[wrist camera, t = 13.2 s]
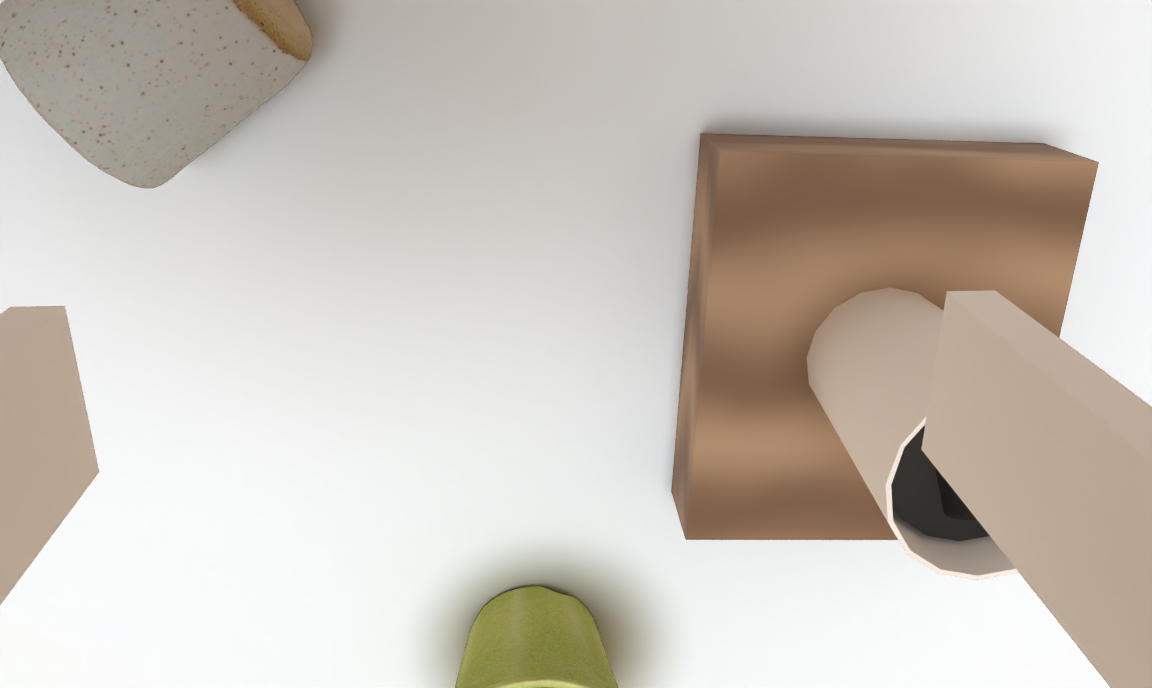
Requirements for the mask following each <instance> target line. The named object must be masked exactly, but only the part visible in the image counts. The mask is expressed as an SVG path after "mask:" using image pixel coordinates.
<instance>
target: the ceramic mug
mask: <svg viewBox="0 0 1152 688" xmlns="http://www.w3.org/2000/svg"><path fill="white" fill-rule="evenodd" d="M311 51H312V34H311V32H310V29H309V26H308V25H307V23H306V21H305V19H304V17H303V15H302V13H301V12H300V10H299V8H298V7H297V5H296V4H295V2H294V0H5V1H4V2H3V3H1V4H0V58H1V59H2V61H3V63H4V65H5V67H6V69H7V71H8V73H9V74H10V76H11V77H12V79H13V81H14V82H15V84H16V85H17V87H18V88H19V90H20V91H21V92H22V93H23V94H24V96H25V97H26V98H27V100H28V101H29V102H30V103H31V105H32V106H33V107H34V109H35V110H36V111H37V112H38V113H39V114H40V116H41V117H42V118H43V119H44V120H45V121H46V122H47V123H48V124H49V125H50V126H51V127H52V128H53V129H54V130H55V131H56V132H57V133H58V134H60V135H61V136H62V137H63V138H64V139H65V140H66V141H67V143H68V144H69V145H70V146H71V147H73V148H74V149H75V150H76V151H77V152H78V153H80V154H81V155H82V156H83V157H84V158H85V159H87V160H88V161H89V162H90V163H92V164H93V165H95V166H96V167H98V168H99V169H101V170H102V171H104V172H105V173H107V174H109V175H111V176H113V177H115V178H117V179H119V180H121V181H123V182H125V183H127V184H129V185H132V186H136V187H140V188H155V187H158V186H160V185H162V184H164V183H166V182H167V181H168V180H170V179H171V178H172V177H174V176H175V175H176V174H177V173H178V172H179V171H181V170H182V169H183V168H184V167H185V166H187V165H188V164H189V163H190V162H192V161H193V160H194V159H195V158H197V157H198V156H199V155H201V154H202V153H203V152H204V151H206V150H207V149H208V148H209V147H211V146H212V145H213V144H214V143H216V142H217V141H218V140H219V139H221V138H222V137H223V136H224V135H226V134H227V133H228V132H229V131H230V130H232V129H233V128H234V127H235V126H236V125H237V124H239V123H240V122H241V121H242V120H244V119H245V118H246V117H247V116H249V115H250V114H251V113H253V112H254V111H255V110H256V109H258V108H259V107H260V106H261V105H263V104H264V103H265V102H266V101H268V100H269V99H270V98H272V97H273V96H274V95H275V94H277V93H278V92H279V91H280V90H282V89H283V88H284V87H285V86H287V85H288V83H289V82H290V81H291V80H292V79H293V78H294V77H295V76H296V74H297V73H298V72H299V71H300V70H301V69H302V68H303V67H304V66H305V64H306V63H307V61H308V60H309V58H310V56H311Z"/></svg>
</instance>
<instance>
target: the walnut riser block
mask: <svg viewBox="0 0 1152 688" xmlns="http://www.w3.org/2000/svg"><path fill="white" fill-rule="evenodd" d="M1098 163H1099V162H1097V161H1094V160H1091V159H1088V158H1085V157H1082V156H1079V155H1076V154H1073V153H1070V152H1067V151H1064V150H1062V149H1059V148H1056V147H1053V146H1050V145H1047V144H1040V143H1006V142H972V141H938V140H904V139H869V138H835V137H801V136H767V135H732V134H701V137H700V149H699V162H698V174H697V186H696V198H695V210H694V223H693V235H692V247H691V259H690V271H689V284H688V296H687V308H686V320H685V333H684V345H683V357H682V369H681V381H680V394H679V406H678V418H677V430H676V442H675V455H674V467H673V479H672V491H671V492H672V495H673V498H674V502H675V505H676V508H677V512H678V515H679V519H680V522H681V525H682V529H683V532H684V535H685V539H686V540H898V539H897V537H896V535H895V534H894V532H893V530H892V529H891V527H890V525H889V523H888V522H887V520H886V518H885V516H884V515H883V513H882V511H881V509H880V508H879V506H878V504H877V502H876V501H875V499H874V497H873V495H872V494H871V492H870V490H869V488H868V487H867V485H866V483H865V481H864V480H863V478H862V476H861V474H860V473H859V471H858V469H857V467H856V466H855V464H854V462H853V460H852V459H851V457H850V455H849V453H848V452H847V450H846V448H845V446H844V444H843V443H842V441H841V439H840V437H839V436H838V434H837V432H836V430H835V429H834V427H833V425H832V423H831V422H830V420H829V418H828V416H827V415H826V413H825V411H824V409H823V408H822V406H821V404H820V402H819V401H818V399H817V397H816V395H815V394H814V392H813V390H812V389H811V387H810V385H809V379H808V368H807V355H808V352H809V349H810V346H811V343H812V340H813V337H814V334H815V331H816V330H817V329H818V327H819V326H820V325H821V324H822V323H823V321H824V320H825V319H826V318H827V317H828V315H829V314H830V313H831V312H832V311H833V309H834V308H836V307H837V306H839V305H841V304H842V303H844V302H846V301H847V300H849V299H851V298H853V297H854V296H856V295H858V294H859V293H862V292H867V291H873V290H878V289H884V288H890V287H891V288H896V289H900V290H905V291H910V292H915V293H918V294H920V295H921V296H922V297H924V298H925V299H927V300H928V301H930V302H931V303H933V304H934V305H936V306H937V307H939V308H940V309H942V310H943V311H944V305H945V299H946V293H947V291H990V290H995V291H997V292H998V293H999V294H1001V295H1002V296H1003V297H1005V298H1006V299H1007V300H1009V301H1010V302H1012V303H1013V304H1014V305H1016V306H1017V307H1018V308H1020V309H1021V310H1022V311H1024V312H1025V313H1026V314H1028V315H1029V316H1030V317H1032V318H1033V319H1034V320H1036V321H1037V322H1038V323H1040V324H1041V325H1042V326H1044V327H1045V328H1046V329H1048V330H1049V331H1050V332H1052V333H1053V334H1055V335H1056V336H1057V337H1059V336H1060V332H1061V327H1062V323H1063V318H1064V314H1065V309H1066V305H1067V301H1068V296H1069V292H1070V287H1071V283H1072V278H1073V274H1074V270H1075V265H1076V261H1077V256H1078V252H1079V247H1080V243H1081V239H1082V234H1083V230H1084V225H1085V221H1086V216H1087V212H1088V208H1089V203H1090V199H1091V194H1092V190H1093V185H1094V181H1095V177H1096V172H1097V168H1098Z"/></svg>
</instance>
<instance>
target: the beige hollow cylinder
mask: <svg viewBox="0 0 1152 688" xmlns="http://www.w3.org/2000/svg"><path fill="white" fill-rule="evenodd" d="M943 312H944V311H943V310H942V309H940V308H939V307H937V306H936V305H934V304H933V303H931V302H930V301H928V300H927V299H925V298H924V297H922V296H921V295H920V294H918V293H915V292H910V291H905V290H900V289H896V288H891V287H890V288H884V289H878V290H873V291H867V292H862V293H859V294H858V295H856V296H854V297H853V298H851V299H849V300H847V301H846V302H844V303H842V304H841V305H839V306H837V307H836V308H834V309H833V311H832V312H831V313H830V314H829V315H828V317H827V318H826V319H825V320H824V321H823V323H822V324H821V325H820V326H819V327H818V329H817V330H816V331H815V334H814V337H813V340H812V343H811V346H810V349H809V352H808V355H807V368H808V379H809V385H810V387H811V389H812V390H813V392H814V394H815V395H816V397H817V399H818V401H819V402H820V404H821V406H822V408H823V409H824V411H825V413H826V415H827V416H828V418H829V420H830V422H831V423H832V425H833V427H834V429H835V430H836V432H837V434H838V436H839V437H840V439H841V441H842V443H843V444H844V446H845V448H846V450H847V452H848V453H849V455H850V457H851V459H852V460H853V462H854V464H855V466H856V467H857V469H858V471H859V473H860V474H861V476H862V478H863V480H864V481H865V483H866V485H867V487H868V488H869V490H870V492H871V494H872V495H873V497H874V499H875V501H876V502H877V504H878V506H879V508H880V509H881V511H882V513H883V515H884V516H885V518H886V520H887V522H888V523H889V525H890V527H891V529H892V530H893V532H894V534H895V535H896V537H897V539H898V540H899V542H900V544H901V545H902V547H903V549H904V551H905V552H906V554H908V555H909V556H911V557H913V558H914V559H916V560H917V561H919V562H920V563H922V564H923V565H925V566H927V567H928V568H930V569H931V570H933V571H934V572H936V573H938V574H943V575H949V576H955V577H961V578H967V579H973V580H980V579H986V578H991V577H997V576H1003V575H1008V574H1014V573H1019V572H1018V570H1017V569H1016V568H1015V567H1014V565H1013V564H1012V563H1011V562H1010V560H1009V559H1008V558H1007V557H1006V555H1005V554H1004V553H1003V552H1002V550H1001V549H1000V548H999V547H998V545H997V544H996V543H995V542H994V540H993V539H992V538H991V536H990V535H989V534H988V533H987V531H986V530H985V529H984V528H983V526H982V525H981V524H980V523H979V521H978V520H977V519H976V518H975V516H974V515H973V514H972V513H971V511H970V510H969V509H968V508H967V506H966V505H965V504H964V503H963V501H962V500H961V499H960V497H959V496H958V495H957V494H956V492H955V491H954V490H953V489H952V487H951V486H950V485H949V484H948V482H947V481H946V480H945V479H944V477H943V476H942V475H941V474H940V472H939V471H938V470H937V469H936V467H935V466H934V465H933V464H932V462H931V461H930V460H929V458H928V457H927V456H926V455H925V453H924V452H923V451H922V450H921V449H922V442H923V436H924V430H925V424H926V417H927V411H928V405H929V399H930V393H931V386H932V380H933V374H934V368H935V361H936V355H937V349H938V343H939V337H940V330H941V324H942V318H943Z"/></svg>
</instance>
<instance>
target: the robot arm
mask: <svg viewBox="0 0 1152 688" xmlns="http://www.w3.org/2000/svg"><path fill="white" fill-rule="evenodd" d="M921 450H922V451H923V452H924V453H925V455H926V456H927V457H928V458H929V460H930V461H931V462H932V464H933V465H934V466H935V467H936V469H937V470H938V471H939V472H940V474H941V475H942V476H943V477H944V479H945V480H946V481H947V482H948V484H949V485H950V486H951V487H952V489H953V490H954V491H955V492H956V494H957V495H958V496H959V497H960V499H961V500H962V501H963V503H964V504H965V505H966V506H967V508H968V509H969V510H970V511H971V513H972V514H973V515H974V516H975V518H976V519H977V520H978V521H979V523H980V524H981V525H982V526H983V528H984V529H985V530H986V531H987V533H988V534H989V535H990V536H991V538H992V539H993V540H994V542H995V543H996V544H997V545H998V547H999V548H1000V549H1001V550H1002V552H1003V553H1004V554H1005V555H1006V557H1007V558H1008V559H1009V560H1010V562H1011V563H1012V564H1013V565H1014V567H1015V568H1016V569H1017V570H1018V572H1019V573H1020V574H1021V575H1022V577H1023V578H1024V579H1025V580H1026V582H1027V583H1028V584H1029V586H1030V587H1031V588H1032V589H1033V591H1034V592H1035V593H1036V594H1037V596H1038V597H1039V598H1040V599H1041V601H1042V602H1043V603H1044V604H1045V606H1046V607H1047V608H1048V609H1049V611H1050V612H1051V613H1052V614H1053V616H1054V617H1055V618H1056V619H1057V621H1058V622H1059V623H1060V625H1061V626H1062V627H1063V628H1064V630H1065V631H1066V632H1067V633H1068V635H1069V636H1070V637H1071V638H1072V640H1073V641H1074V642H1075V643H1076V645H1077V646H1078V647H1079V648H1080V650H1081V651H1082V652H1083V653H1084V655H1085V656H1086V657H1087V658H1088V660H1089V661H1090V662H1091V663H1092V665H1093V666H1094V667H1095V669H1096V670H1097V671H1098V672H1099V674H1100V675H1101V676H1102V677H1103V679H1104V680H1105V681H1106V682H1107V684H1108V685H1109V686H1110V687H1111V688H1152V407H1151V406H1150V405H1149V404H1147V403H1146V402H1145V401H1143V400H1142V399H1141V398H1139V397H1138V396H1137V395H1135V394H1134V393H1132V392H1131V391H1130V390H1128V389H1127V388H1126V387H1124V386H1123V385H1122V384H1120V383H1119V382H1118V381H1116V380H1115V379H1114V378H1112V377H1111V376H1110V375H1108V374H1107V373H1106V372H1104V371H1103V370H1102V369H1100V368H1099V367H1098V366H1096V365H1095V364H1094V363H1092V362H1091V361H1089V360H1088V359H1087V358H1085V357H1084V356H1083V355H1081V354H1080V353H1079V352H1077V351H1076V350H1075V349H1073V348H1072V347H1071V346H1069V345H1068V344H1067V343H1065V342H1064V341H1063V340H1061V339H1060V338H1059V337H1057V336H1056V335H1055V334H1053V333H1052V332H1050V331H1049V330H1048V329H1046V328H1045V327H1044V326H1042V325H1041V324H1040V323H1038V322H1037V321H1036V320H1034V319H1033V318H1032V317H1030V316H1029V315H1028V314H1026V313H1025V312H1024V311H1022V310H1021V309H1020V308H1018V307H1017V306H1016V305H1014V304H1013V303H1012V302H1010V301H1009V300H1007V299H1006V298H1005V297H1003V296H1002V295H1001V294H999V293H998V292H997V291H995V290H990V291H947V293H946V299H945V305H944V312H943V318H942V324H941V330H940V337H939V343H938V349H937V355H936V361H935V368H934V374H933V380H932V386H931V393H930V399H929V405H928V411H927V417H926V424H925V430H924V436H923V442H922V449H921ZM98 473H99V469H98V464H97V459H96V454H95V449H94V444H93V440H92V435H91V430H90V425H89V420H88V415H87V411H86V406H85V401H84V396H83V391H82V386H81V381H80V377H79V372H78V367H77V362H76V357H75V352H74V348H73V343H72V338H71V333H70V328H69V323H68V319H67V314H66V309H65V306H37V307H10V308H8V309H7V310H6V311H4V312H3V313H2V314H1V315H0V605H1V603H2V602H3V601H4V599H5V598H6V597H7V595H8V594H9V593H10V591H11V590H12V589H13V587H14V586H15V584H16V583H17V582H18V580H19V579H20V578H21V576H22V575H23V574H24V572H25V571H26V570H27V568H28V567H29V566H30V564H31V563H32V562H33V560H34V559H35V558H36V556H37V555H38V553H39V552H40V551H41V549H42V548H43V547H44V545H45V544H46V543H47V541H48V540H49V539H50V537H51V536H52V535H53V533H54V532H55V531H56V529H57V528H58V527H59V525H60V524H61V523H62V521H63V520H64V518H65V517H66V516H67V514H68V513H69V512H70V510H71V509H72V508H73V506H74V505H75V504H76V502H77V501H78V500H79V498H80V497H81V496H82V494H83V493H84V492H85V490H86V489H87V487H88V486H89V485H90V483H91V482H92V481H93V479H94V478H95V477H96V475H97V474H98Z"/></svg>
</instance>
